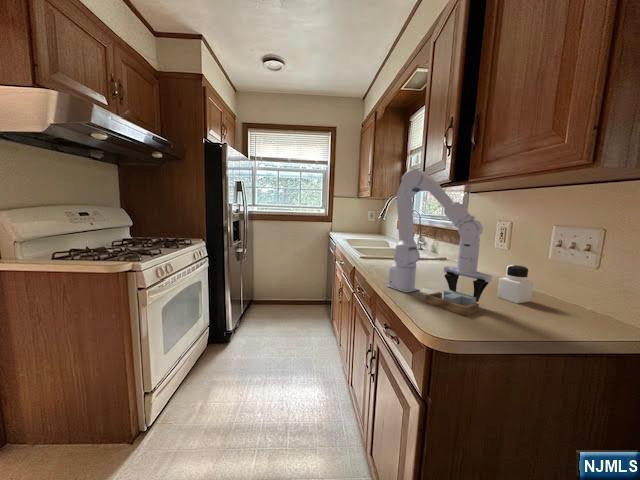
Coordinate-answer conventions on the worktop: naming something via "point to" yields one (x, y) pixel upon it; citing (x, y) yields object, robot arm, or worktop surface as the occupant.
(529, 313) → the worktop surface
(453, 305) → the walnut cradle
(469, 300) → the t block
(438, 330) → the worktop surface
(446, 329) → the worktop surface
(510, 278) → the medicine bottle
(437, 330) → the worktop surface
